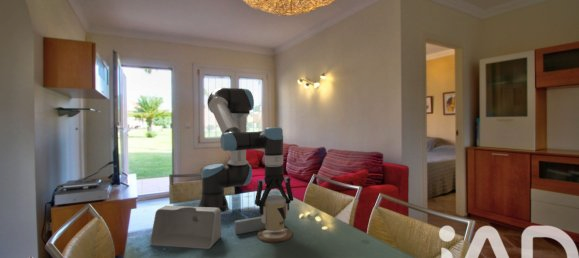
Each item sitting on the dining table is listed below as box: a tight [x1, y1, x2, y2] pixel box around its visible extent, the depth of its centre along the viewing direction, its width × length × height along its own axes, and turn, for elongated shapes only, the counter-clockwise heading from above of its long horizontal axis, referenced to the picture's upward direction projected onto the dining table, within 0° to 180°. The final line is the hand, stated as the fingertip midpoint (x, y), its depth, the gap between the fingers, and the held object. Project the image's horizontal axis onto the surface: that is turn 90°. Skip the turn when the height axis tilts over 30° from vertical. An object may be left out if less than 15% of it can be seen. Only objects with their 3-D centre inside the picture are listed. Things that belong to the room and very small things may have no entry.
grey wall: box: [234, 215, 265, 235], centre depth 119 cm, size 2×22×5 cm, turn 116°
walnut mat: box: [257, 227, 293, 244], centre depth 113 cm, size 14×14×1 cm
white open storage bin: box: [149, 205, 222, 250], centre depth 111 cm, size 25×16×12 cm, turn 81°
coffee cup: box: [264, 194, 286, 231], centre depth 112 cm, size 9×9×12 cm
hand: (274, 220), depth 113 cm, fingers closed on coffee cup, 9 cm apart
